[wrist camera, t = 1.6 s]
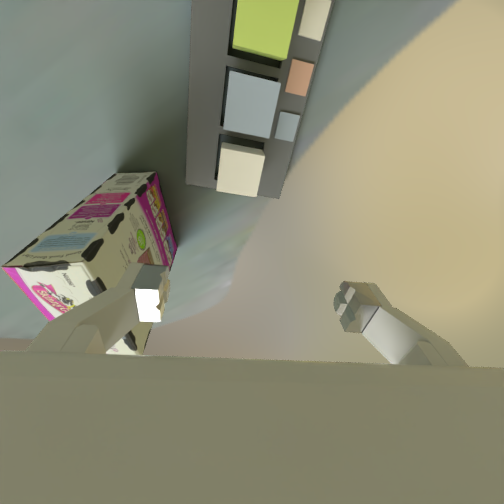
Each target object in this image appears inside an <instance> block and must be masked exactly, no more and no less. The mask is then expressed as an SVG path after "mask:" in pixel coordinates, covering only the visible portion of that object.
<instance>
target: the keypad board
mask: <svg viewBox="0 0 504 504" xmlns="http://www.w3.org/2000/svg"><path fill="white" fill-rule="evenodd" d="M334 1H335V0H299V4H298V8H297V13H296V17H295V22H294V27H293V31H292V36H291V40H290V45H289V49H288V54H287V59H284V60H282V61H280V65H279V68H275V67H272V66H268V65H264V64H260V63H256V62H252V61H248V60H244V59H241V58H237V57H233V56H229V55H227V54H228V45H229V35H230V26H231V16H232V6H233V0H192V5H191V35H190V65H189V95H188V125H187V155H186V184H188V185H195V186H201V187H207V188H214V189H217V181H218V177H215V169H216V160H217V150H218V140H219V134H224V135H229V136H234V137H239V138H244V139H249V140H254V141H259V142H263V147H262V150H263V153H264V155H265V160H264V164H263V169H262V173H261V178H260V183H259V187H258V192H257V195H258V196H264V197H270V198H276V199H279V198H280V194H281V191H282V187H283V184H284V180H285V177H286V173H287V169H288V166H289V162H290V159H291V155H292V151H293V148H294V144H295V141H296V137H297V133H298V130H299V126H300V123H301V119H302V116H303V112H304V108H305V105H306V101H307V98H308V94H309V90H310V87H311V83H312V80H313V76H314V72H315V69H316V65H317V62H318V58H319V55H320V51H321V47H322V44H323V40H324V37H325V33H326V29H327V26H328V22H329V19H330V15H331V11H332V8H333V4H334ZM226 66H229V67H233V68H237V69H241V70H245V71H249V72H253V73H257V74H261V75H265V76H269V77H273V78H277V79H276V82H278V83H281V86H280V91H279V95H278V100H277V105H276V109H275V114H274V118H273V123H272V127H271V132H270V137H269V138H264V137H259V136H254V135H249V134H244V133H239V132H234V131H229V130H224V129H223V127H224V125H222V124H220V121H221V112H222V102H223V93H224V83H225V73H226Z"/></svg>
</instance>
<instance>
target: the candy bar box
mask: <svg viewBox="0 0 504 504" xmlns="http://www.w3.org/2000/svg"><path fill="white" fill-rule="evenodd" d="M176 251H177V246H176V242H175V239H174V235H173V231H172V228H171V224H170V220H169V217H168V213H167V209H166V206H165V202H164V198H163V195H162V191H161V187H160V183H159V180H158V176H157V172H155V171H154V172H138V173H115V174H114V175H112V176H111V177H110V178H109V179H108V180H106V181H105V182H104V183H103V184H102V185H100V186H99V187H98V188H97V189H95V190H94V191H93V192H92V193H91V194H90V195H88V196H87V197H86V198H84V199H83V200H82V201H81V202H80V203H79V204H77V205H76V206H75V207H74V208H73V209H72V210H70V211H69V212H67V213H66V214H65V215H64V216H63V217H61V218H60V219H59V220H58V221H56V222H55V223H54V224H53V225H52V226H51V227H49V228H48V229H47V230H46V231H45V232H43V233H42V234H41V235H40V236H38V237H37V238H36V239H35V240H33V241H32V242H31V243H30V244H29V245H27V246H26V247H25V248H24V249H23V250H21V251H20V252H19V253H18V254H16V255H15V256H14V257H13V258H12V259H10V260H9V261H8V262H7V263H5V264H4V265H3V266H1V268H2V269H3V270H4V271H5V272H6V273H7V274H8V276H9V277H10V278H11V279H12V280H13V281H14V282H15V283H16V284H17V285H18V287H19V288H20V289H21V290H22V291H23V292H24V293H25V294H26V295H27V297H28V298H29V299H30V300H31V301H32V302H33V303H34V305H35V306H36V307H37V308H38V309H39V310H40V311H41V312H42V314H43V315H44V316H45V317H46V318H47V319H48V320H49V321H51V320H53V319H54V318H56V317H58V316H60V315H62V314H64V313H66V312H67V311H69V310H71V309H73V308H75V307H77V306H78V305H80V304H82V303H84V302H86V301H88V300H89V299H91V298H93V297H95V296H97V295H99V294H100V293H102V292H104V291H106V290H108V289H110V288H111V287H112V288H115V287H116V286H117V284H118V282H119V281H120V279H121V278H122V276H123V274H124V273H125V271H126V269H127V268H128V266H129V264H130V263H132V262H136V263H144V264H145V263H147V264H156V265H165V266H169V271H170V270H171V267H172V263H173V260H174V257H175V254H176ZM152 325H153V322H148V321H139V323H138V324H137V325H136V326H135V327H134V328H132V329H131V330H130V331H129V332H128V333H127V334H126V335H125V336H123V337H122V338H121V339H120V340H119V341H118V342H117V343H116V344H114V345H113V346H112V347H111V348H110V349H109V350H108V351H107V352H106V354H121V355H143V352H144V349H145V346H146V342H147V339H148V336H149V333H150V330H151V328H152Z"/></svg>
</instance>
